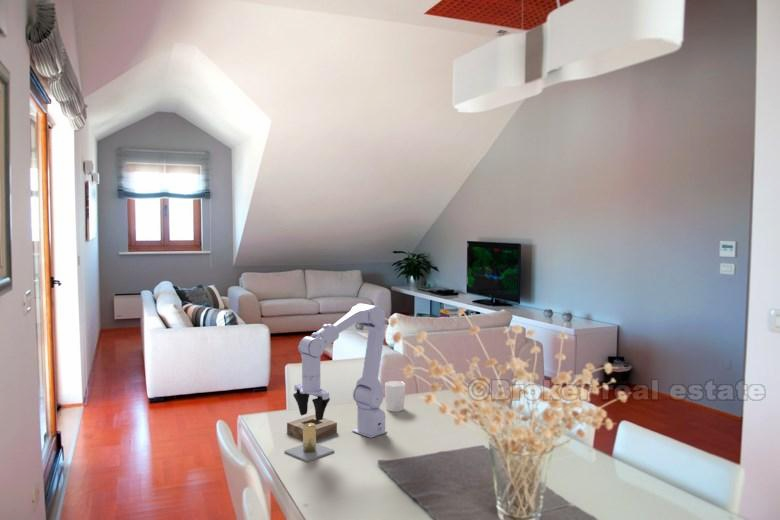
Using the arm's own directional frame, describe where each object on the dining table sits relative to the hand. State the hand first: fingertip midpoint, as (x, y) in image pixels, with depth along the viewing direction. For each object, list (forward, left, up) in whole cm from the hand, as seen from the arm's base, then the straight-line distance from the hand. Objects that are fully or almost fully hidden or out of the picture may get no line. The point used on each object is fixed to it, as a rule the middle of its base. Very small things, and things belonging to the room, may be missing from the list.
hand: (311, 417), depth 191 cm
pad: (-2, +2, -10) cm, 11 cm away
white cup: (+8, -49, -11) cm, 51 cm away
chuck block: (+11, -10, -10) cm, 18 cm away
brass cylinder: (-2, +2, -10) cm, 10 cm away
